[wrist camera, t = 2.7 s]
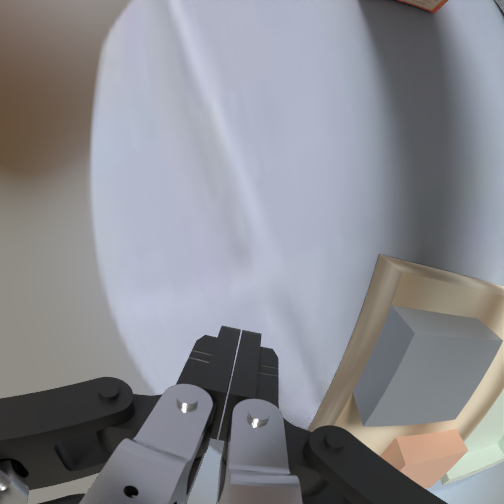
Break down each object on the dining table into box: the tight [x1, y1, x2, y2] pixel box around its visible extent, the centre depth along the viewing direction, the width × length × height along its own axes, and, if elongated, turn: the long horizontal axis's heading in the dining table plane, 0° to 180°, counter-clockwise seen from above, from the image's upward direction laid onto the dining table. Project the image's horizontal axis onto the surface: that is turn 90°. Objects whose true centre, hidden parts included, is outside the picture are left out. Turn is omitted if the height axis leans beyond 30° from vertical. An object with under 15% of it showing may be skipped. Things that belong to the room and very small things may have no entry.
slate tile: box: [353, 305, 503, 427], centre depth 10 cm, size 6×5×2 cm
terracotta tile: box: [380, 429, 468, 489], centre depth 12 cm, size 6×5×2 cm
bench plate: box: [308, 255, 504, 456], centre depth 14 cm, size 14×17×3 cm
